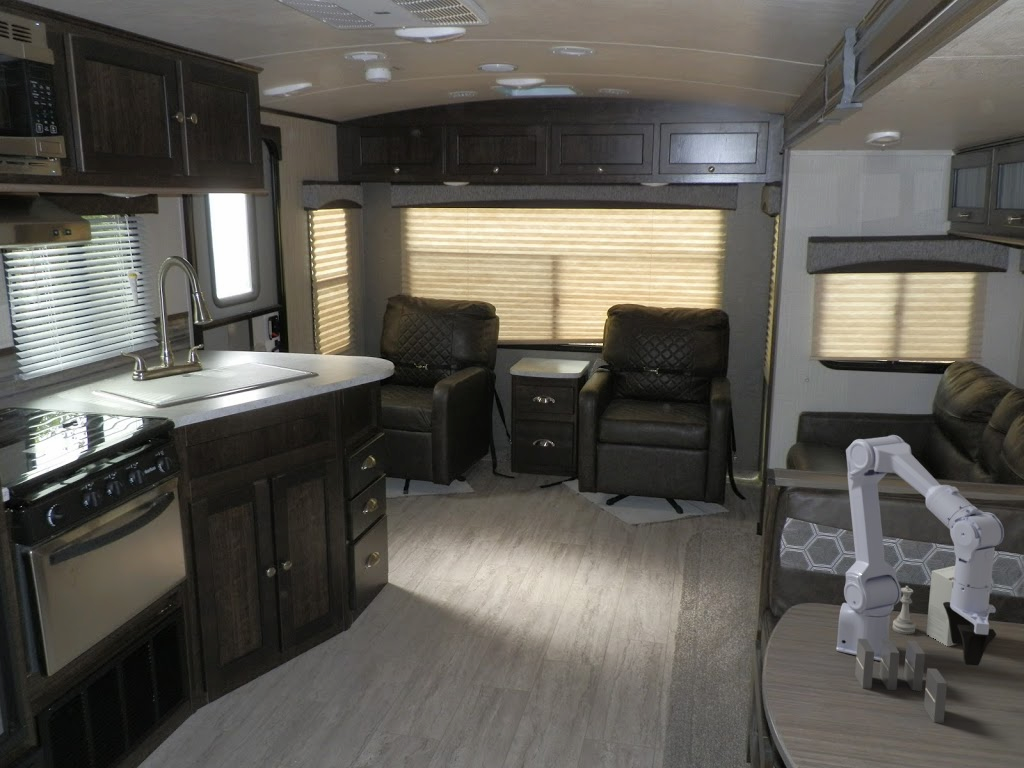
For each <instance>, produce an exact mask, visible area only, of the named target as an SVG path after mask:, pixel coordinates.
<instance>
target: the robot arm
mask: <svg viewBox="0 0 1024 768" xmlns="http://www.w3.org/2000/svg"><path fill="white" fill-rule="evenodd" d="M845 455H846V465H847V484H848V486H847V487H848V494H849V503H850V513H851V514H850V515H851V522H852V523H851V524H852V525H851V526H852V532H853V533H852V534H853V535H852V536H853V543H854V554H855V561H854V563H853V564H852V565H851V566H850V568H848V570H847V571H846V572H845V585H844V588H843V595H844V599H845V601H846V602H843V603H842V604H841V607H840V611H839V615H838V617H839V618H838V627H837V628H838V630H837V639H836V640H837V643H836V647H835V648H836V649H835V650H836V651H837V652H840V653H845V654H850V655H854V656H857V643H858V639H867V640H868V642H869V644H870V645H871V647H872V649H873V650H874V661H879V662H880V660H881V648H882V640H889V637H890V636H889V634H890V625H891V623H890V622H891V612H892V611H894V610H895V609H894V607H895V605H898V603H899V602H900V599H901V598H902V591H901V588H902V587H901V584H900V583H899V581H898V578H897V570H896V569H895V568H894V567H893V566H891V564H890V563H888V562H886V559H885V558H886V557H885V547H884V538H883V536H884V535H883V529H882V528H883V527H882V515H881V506H880V499H879V498H880V497H879V487H878V483H879V482H880V481H881V480H882V479H883V478H884V477H885V476H886V475H887V474H888V473H889V474H890V473H891V474H896V475H897V476H898V477H899V478H900V479H902V480H903V481H905V482H906V483H907V484H908V485H910V486H911V487H912V488H913V489H914V490H916V491H917V492H918V493H919V494H921V495H922V496H923V497H924V498H925V507H926V508H927V509H928V510H929V511H930V512H931V513H932V515H934V516H935V517H936V518H937V519H938V521H941V522H940V523H942V524H943V525H944V526H945V527H947V528H948V529H949V533H950V534H949V535H950V538H951V540H952V543H953V545H954V549H953V553H954V555H955V565H954V566H955V573H954V583H953V588H952V593H951V602H944V603H943V605H944V608H945V610H946V613H947V616H948V620H949V625H950V633H951V639H952V643H953V644H956V645H962V650H963V651H962V656H963V662H964V664H965V665H967V666H976V667H978V666H979V665H980V663H981V661H982V658H983V656H984V654H985V651H986V649H987V647H988V646H989V644H990V643H991V642H992V641H993V640H994V639H995V638H996V636H997V633H996V631H995V630H994V629H993V628H990V623H989V616H990V614H991V613H992V614H995V613H996V611H997V610H996V607H995V606H994V605H993V604H990V594H991V587H992V586H991V584H992V576H993V567H994V565H993V564H994V556H995V550H996V549H995V546H998V545H1000V544H1001V543H1002V542H1003V539H1004V538H1005V530H1004V526H1003V524H1002V522H1001V520H1000V519H999V518H998V517H997V516H996V514H994V513H991V512H990V511H989V512H988V511H987V512H986V511H985V512H984V511H983V510H982V509H979V508H977V507H976V506H975V505H973V504H972V503H971V502H970V501H968V499H966V498H965V496H963V495H962V494H961V493H960V490H959V489H958V488H957V487H956V486H951V485H949V484H940V482H938V481H937V479H936V478H934V476H933V475H932V474H931V473H930V472H929V471H928V470H927V469H926V468H925V467H924V466H923V465H922V464H921V463H920V462H919V460H918V459H916V458H915V456H914V455H913V454H912V449H911V446H910V444H909V443H907V442H905V440H904V439H902V437H900V436H898V435H897V434H896V435H895V434H890V435H888V436H882V437H881V436H880V437H872V438H864V439H862V438H858V439H855V440H853V441H852V443H851V444H850V445H849V446H848V447H847V448H846V449H845Z"/></svg>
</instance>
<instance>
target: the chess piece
mask: <svg viewBox="0 0 1024 768" xmlns="http://www.w3.org/2000/svg"><path fill="white" fill-rule="evenodd" d="M913 593H914V590H913V589H912V588H910V587H909V585H905V587H901V594H902V595H901V599H900V601H899V602H900V603H902V605H901V609H900V610H901V611H900V613H899V614H898V615H897V618H895V619H894V620H893V621H892V630H893V631H894V632H896V633H898V634H901V635H907V634H908V635H913V634H914V633H915V632H916V624H915V622H914V621H913V617H912V616H911V615H910V614H911V613H910V605H911V604H912V603H913V599H911V595H912V594H913Z"/></svg>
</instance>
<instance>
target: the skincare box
mask: <svg viewBox="0 0 1024 768" xmlns="http://www.w3.org/2000/svg"><path fill="white" fill-rule="evenodd" d="M954 573H955V565H952V566H947V567H943V568H939V569H934V570H931V577H930V589H929V599H928V601H929V602H928V607H927V608H928V611H927V621H926V633H925V634H926V635H927V636H928V635H929V637H930V638H931V639H933V638H934V640H935V639H936V640H935V641H937V642H938V641H939V643H940V642H941V643H940V644H942V643H943V644H944V646H945V645H946V646H945V647H947V646H948V647H951V646H952V647H953V646H955V645H957V644H953V643H952V639H951V633H950V625H949V620H948V616H947V613H946V610H945V608H944V605H943V603H944V602H951V593H952V588H953V583H954ZM943 644H942V645H943Z"/></svg>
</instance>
